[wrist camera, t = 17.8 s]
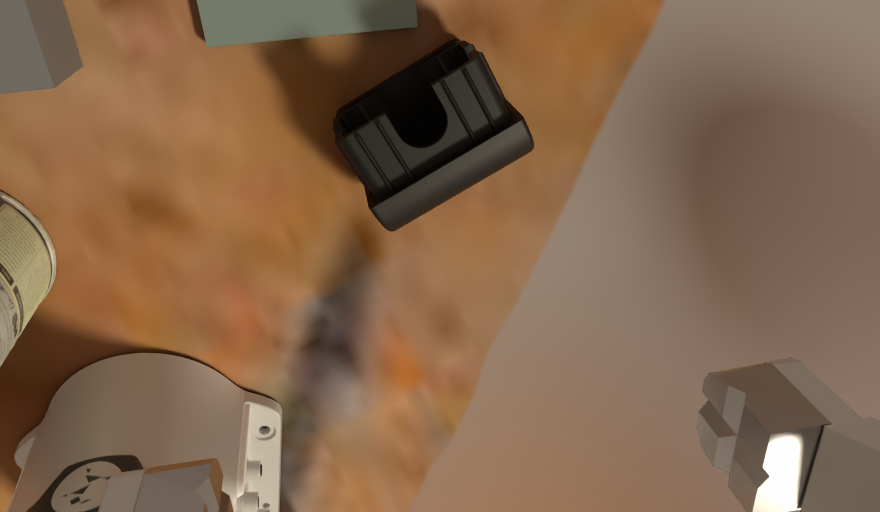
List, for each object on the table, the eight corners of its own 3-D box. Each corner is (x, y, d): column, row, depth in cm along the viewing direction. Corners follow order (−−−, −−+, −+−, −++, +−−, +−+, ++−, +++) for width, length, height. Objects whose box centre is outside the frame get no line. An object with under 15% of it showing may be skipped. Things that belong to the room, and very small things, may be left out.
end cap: (384, 204, 45) (396, 250, 39) (325, 116, 42) (329, 151, 36) (514, 127, 44) (546, 163, 38) (465, 30, 41) (492, 53, 35)
